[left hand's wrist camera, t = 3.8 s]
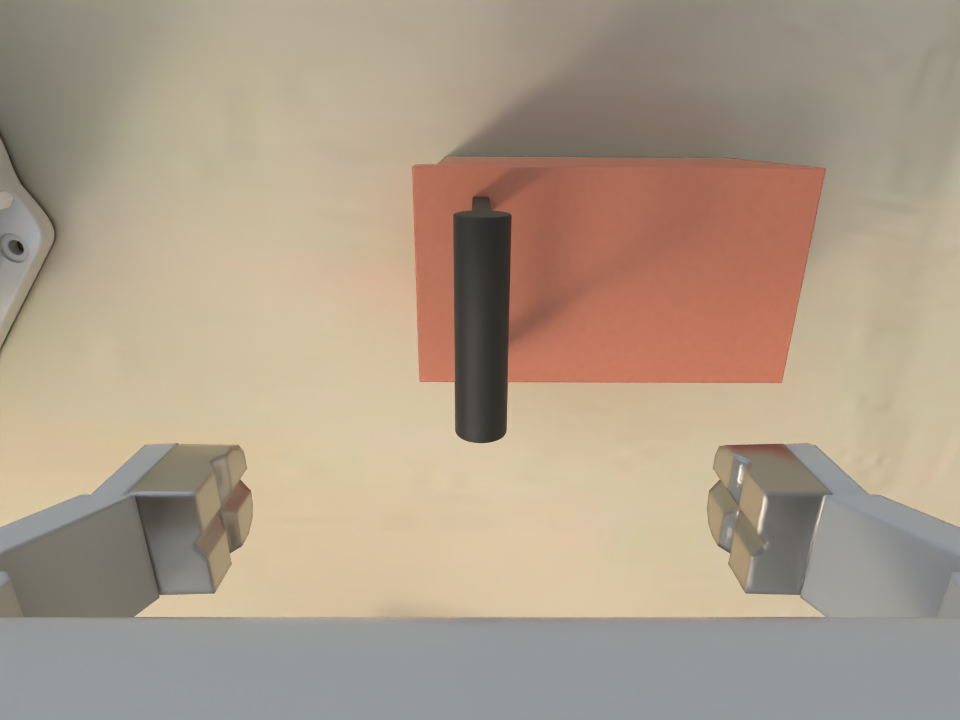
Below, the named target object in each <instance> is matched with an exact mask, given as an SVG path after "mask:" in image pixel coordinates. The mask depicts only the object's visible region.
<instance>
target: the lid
mask: <svg viewBox="0 0 960 720" xmlns="http://www.w3.org/2000/svg"><path fill="white" fill-rule="evenodd" d="M825 170H826V169H825V168H820V167H786V166H602V165H417V164H416V165H414V166H413V167H412V176H413V205H414V235H415V264H416V293H417V323H418V352H419V380H420V382H455V431H456V434H457V435H458V436H459V437H460V438H462V439H464V440H466V441H469V442H474V443H488V442H493V441H496V440H499V439H501V438H502V437H503V436H504V435H505V434H506V429H507V388H508V382H661V383H782V379H783V374H784V369H785V364H786V360H787V355H788V350H789V345H790V340H791V335H792V330H793V325H794V321H795V316H796V311H797V306H798V301H799V296H800V291H801V287H802V282H803V277H804V272H805V267H806V262H807V257H808V253H809V248H810V243H811V238H812V233H813V228H814V223H815V219H816V214H817V209H818V204H819V199H820V194H821V189H822V184H823V180H824V175H825Z"/></svg>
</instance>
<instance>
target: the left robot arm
mask: <svg viewBox="0 0 960 720" xmlns="http://www.w3.org/2000/svg"><path fill="white" fill-rule="evenodd" d="M54 236H55V235H54V229H53V226H52V224H51V222H50V220H49V218H48V217H47V215H46V214H45V212H44V211H43V210H42V209H41V207H40V206H39V205H38V204H37V202H36V201H35V200H34V199H33V198H32V196H31V195H30V194H29V193H28V192H27V191H26V189H25V188H24V187H23V186H22V185H21V183H20V181H19V179H18V177H17V175H16V173H15V171H14V169H13V166H12V164H11V161H10V159H9V156H8V154H7V151H6V149H5V146H4V144H3V142H2V140H1V138H0V348H1V346H2V344H3V342H4V340H5V338H6V336H7V334H8V332H9V330H10V328H11V326H12V324H13V322H14V320H15V318H16V316H17V314H18V312H19V310H20V308H21V306H22V304H23V302H24V300H25V298H26V296H27V294H28V292H29V290H30V288H31V286H32V284H33V282H34V280H35V278H36V276H37V274H38V272H39V270H40V268H41V266H42V264H43V262H44V260H45V258H46V256H47V254H48V252H49V250H50V248H51V246H52V244H53V241H54ZM18 241H19V242H20V243H21V244H22V245H23V248H24V251H21V250H20V249H19V247H18V245H17V242H18ZM246 469H247V465H246V460H245V455H244V451H243V450H242V449H241V448H240V446H239V445H209V444H178V443H171V444H149V445H144V446H143V447H142V448H141V449H140V450H139V451H138V452H137V453H136V454H135V455H133V456H132V457H131V458H130V459H129V460H128V461H127V462H126V463H125V464H124V465H123V466H121V467H120V468H119V469H118V470H117V471H116V472H115V473H114V474H113V475H112V476H111V477H109V478H108V479H107V480H106V481H105V482H104V483H103V484H102V485H101V486H100V487H99V488H97V489H96V490H95V491H94V492H93V493H92V494H91V495H79V496H77V497H74V498H72V499H69V500H67V501H64V502H62V503H59V504H57V505H55V506H52V507H50V508H47V509H45V510H42V511H40V512H37V513H35V514H32V515H30V516H27V517H25V518H23V519H20V520H18V521H15V522H13V523H10V524H8V525H5V526H3V527H0V720H960V528H959V527H957V526H955V525H952V524H950V523H947V522H945V521H942V520H940V519H937V518H935V517H932V516H930V515H927V514H925V513H923V512H920V511H918V510H915V509H913V508H910V507H908V506H905V505H903V504H900V503H898V502H896V501H893V500H891V499H888V498H886V497H883V496H881V495H869V494H868V493H867V492H866V491H865V490H864V489H863V488H861V487H860V486H859V485H858V484H857V483H856V482H855V481H854V480H853V479H852V478H851V477H850V476H848V475H847V474H846V473H845V472H844V471H843V470H842V469H841V468H840V467H839V466H838V465H836V464H835V463H834V462H833V461H832V460H831V459H830V458H829V457H828V456H827V455H826V454H825V453H823V452H822V451H821V450H820V449H819V448H818V447H817V446H816V445H812V444H809V443H801V444H758V445H725V446H719V448H718V450H717V452H716V455H715V459H714V465H713V469H714V471H715V472H716V474H717V475H718V477H719V479H720V480H719V481H718V482H717V483H716V484H715V485H714V486H713V487H712V488H711V489H710V490H709V496H708V504H707V513H708V524H709V527H710V530H711V533H712V536H713V538H714V540H715V541H716V543H717V545H718V546H719V547H721V548H722V549H724V550H726V551H727V552H729V553H730V558H729V566H730V568H731V569H732V571H733V573H734V574H735V576H736V578H737V580H738V581H739V583H740V585H741V586H742V588H743V590H744V591H745V593H749V594H786V595H801V596H800V597H801V598H802V599H803V600H805V601H806V602H807V603H809V604H810V605H811V606H813V607H814V608H815V609H817V610H818V611H819V612H821V613H822V614H823V615H825V616H826V617H134V616H135V615H137V614H138V613H140V612H141V611H142V610H144V609H145V608H146V607H148V606H149V605H150V604H152V603H153V602H154V601H156V600H157V599H158V598H159V595H173V594H209V593H215V592H216V590H217V588H218V586H219V585H220V583H221V581H222V580H223V578H224V576H225V574H226V573H227V571H228V569H229V568H230V566H231V558H230V553H231V552H233V551H234V550H236V549H238V548H239V547H241V546H242V545H243V543H244V541H245V540H246V538H247V536H248V534H249V530H250V526H251V522H252V517H253V502H252V495H251V490H250V489H249V488H248V487H247V486H246V485H245V484H244V483H243V482H242V481H241V480H240V479H241V477H242V475H243V474H244V472H245V471H246Z"/></svg>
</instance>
